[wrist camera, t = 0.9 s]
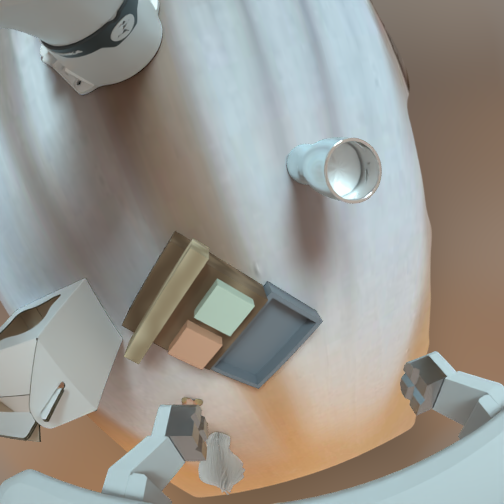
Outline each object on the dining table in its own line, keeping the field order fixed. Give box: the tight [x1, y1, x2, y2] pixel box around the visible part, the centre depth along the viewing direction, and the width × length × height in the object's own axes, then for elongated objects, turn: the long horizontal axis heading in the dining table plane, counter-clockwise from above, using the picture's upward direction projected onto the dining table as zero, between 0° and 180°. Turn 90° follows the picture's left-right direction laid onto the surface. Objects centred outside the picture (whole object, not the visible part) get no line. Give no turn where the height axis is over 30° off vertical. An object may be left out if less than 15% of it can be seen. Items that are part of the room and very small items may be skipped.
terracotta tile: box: [168, 320, 223, 370], centre depth 40 cm, size 6×6×2 cm
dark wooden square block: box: [122, 231, 268, 370], centre depth 41 cm, size 16×16×5 cm
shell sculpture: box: [198, 432, 245, 495], centre depth 49 cm, size 8×8×18 cm
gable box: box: [0, 278, 123, 442], centre depth 29 cm, size 22×13×28 cm, turn 109°
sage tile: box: [194, 278, 255, 336], centre depth 38 cm, size 6×6×2 cm
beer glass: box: [287, 137, 382, 204], centre depth 32 cm, size 7×7×15 cm
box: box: [211, 281, 323, 389], centre depth 46 cm, size 11×18×4 cm, turn 144°
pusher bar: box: [124, 238, 209, 364], centre depth 36 cm, size 2×20×4 cm, turn 144°
